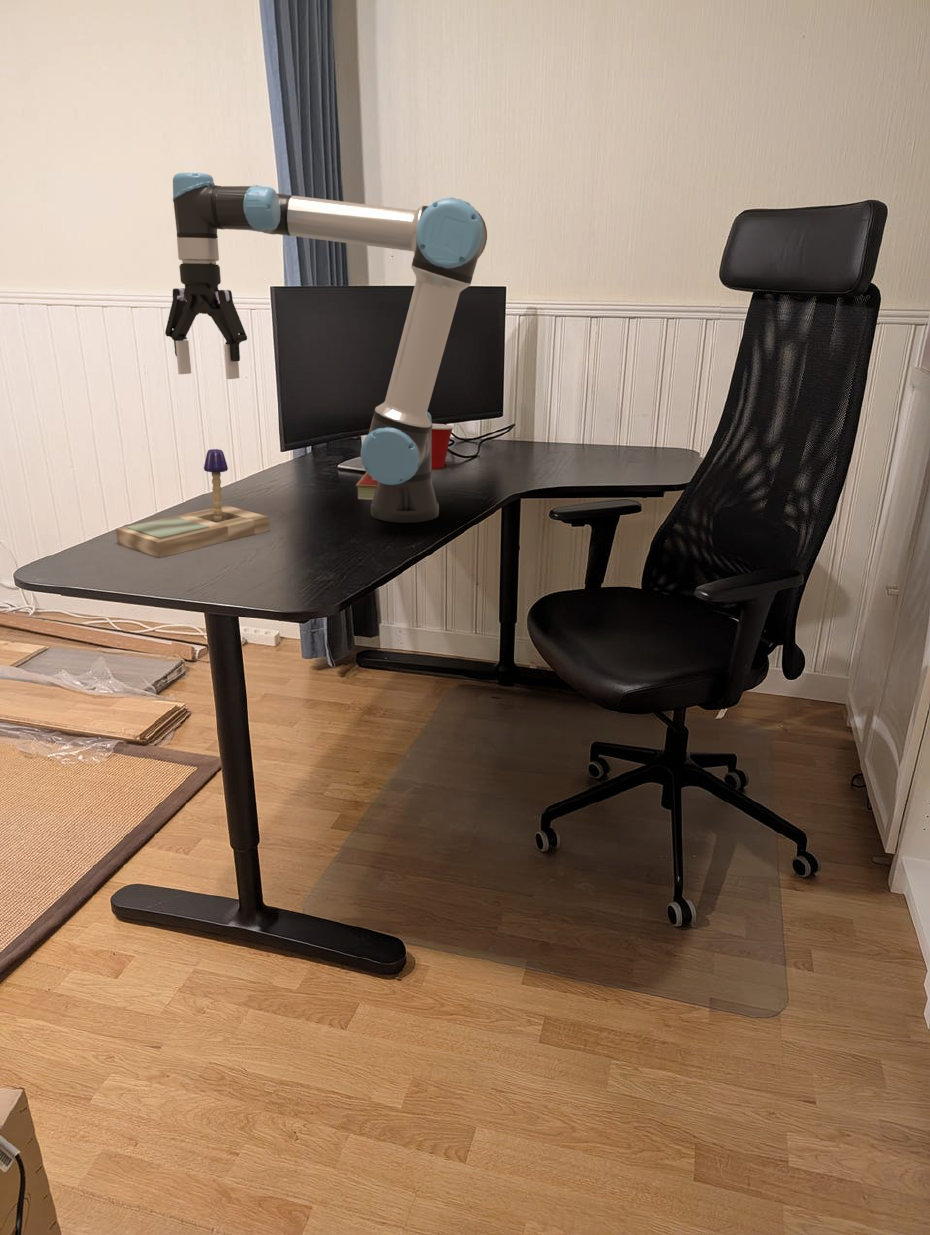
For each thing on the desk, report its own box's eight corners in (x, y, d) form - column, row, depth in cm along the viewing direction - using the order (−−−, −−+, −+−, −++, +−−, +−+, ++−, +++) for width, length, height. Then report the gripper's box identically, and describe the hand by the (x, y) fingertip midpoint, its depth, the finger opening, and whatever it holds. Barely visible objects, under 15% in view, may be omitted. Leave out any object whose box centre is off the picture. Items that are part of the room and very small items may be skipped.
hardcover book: (416, 484, 232) (416, 467, 231) (406, 503, 213) (406, 485, 211) (370, 482, 233) (370, 466, 231) (356, 501, 213) (355, 483, 212)
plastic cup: (461, 467, 252) (462, 423, 247) (437, 472, 243) (437, 428, 239) (431, 461, 258) (432, 419, 253) (407, 467, 250) (406, 423, 245)
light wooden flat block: (269, 530, 186) (268, 515, 184) (159, 557, 167) (157, 540, 165) (227, 518, 194) (225, 503, 193) (117, 543, 175) (115, 527, 174)
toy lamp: (229, 527, 188) (223, 447, 182) (234, 532, 184) (229, 451, 178) (205, 529, 185) (199, 449, 179) (211, 535, 182) (204, 452, 176)
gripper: (261, 263, 170) (267, 379, 177) (169, 262, 182) (179, 370, 189) (232, 262, 164) (240, 382, 171) (139, 261, 176) (151, 373, 183)
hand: (208, 376), depth 180 cm, fingers open, 13 cm apart
